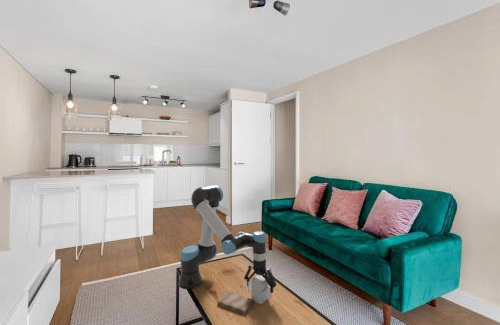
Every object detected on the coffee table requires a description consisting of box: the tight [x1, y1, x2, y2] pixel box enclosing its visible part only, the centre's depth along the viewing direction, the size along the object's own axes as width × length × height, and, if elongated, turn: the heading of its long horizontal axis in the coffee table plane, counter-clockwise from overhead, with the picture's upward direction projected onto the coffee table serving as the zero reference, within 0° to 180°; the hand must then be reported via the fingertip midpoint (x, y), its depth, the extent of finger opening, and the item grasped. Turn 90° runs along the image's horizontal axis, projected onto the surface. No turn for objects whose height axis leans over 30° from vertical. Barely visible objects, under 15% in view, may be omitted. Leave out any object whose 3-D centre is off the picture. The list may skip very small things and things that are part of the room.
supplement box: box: [250, 274, 269, 305], centre depth 144 cm, size 7×7×13 cm
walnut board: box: [217, 291, 255, 315], centre depth 140 cm, size 18×11×2 cm, turn 60°
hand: (260, 294), depth 144 cm, fingers open, 13 cm apart
